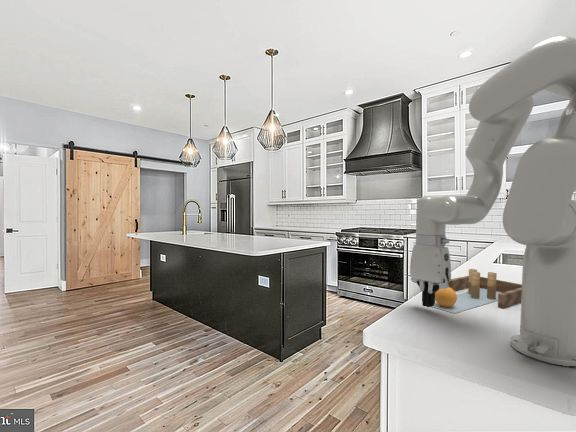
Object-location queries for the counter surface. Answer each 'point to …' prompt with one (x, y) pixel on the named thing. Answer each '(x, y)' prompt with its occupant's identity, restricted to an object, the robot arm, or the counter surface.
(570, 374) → the counter surface
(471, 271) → the pin left
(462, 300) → the lane
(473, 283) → the pin front
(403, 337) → the counter surface
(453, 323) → the counter surface
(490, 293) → the pin right
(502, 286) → the fence
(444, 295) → the ball
